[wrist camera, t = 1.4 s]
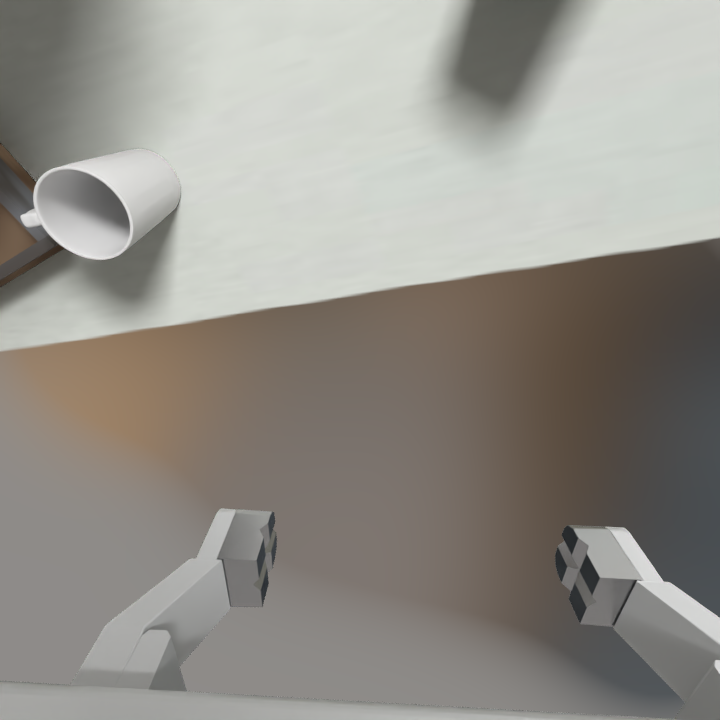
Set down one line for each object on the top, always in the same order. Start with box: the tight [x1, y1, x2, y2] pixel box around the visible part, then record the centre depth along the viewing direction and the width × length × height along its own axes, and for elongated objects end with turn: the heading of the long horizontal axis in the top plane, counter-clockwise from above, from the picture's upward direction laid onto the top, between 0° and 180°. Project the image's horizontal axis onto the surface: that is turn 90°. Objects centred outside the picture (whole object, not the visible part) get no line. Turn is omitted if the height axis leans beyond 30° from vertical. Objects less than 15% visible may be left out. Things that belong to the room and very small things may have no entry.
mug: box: [20, 149, 181, 260], centre depth 35 cm, size 10×7×12 cm, turn 97°
